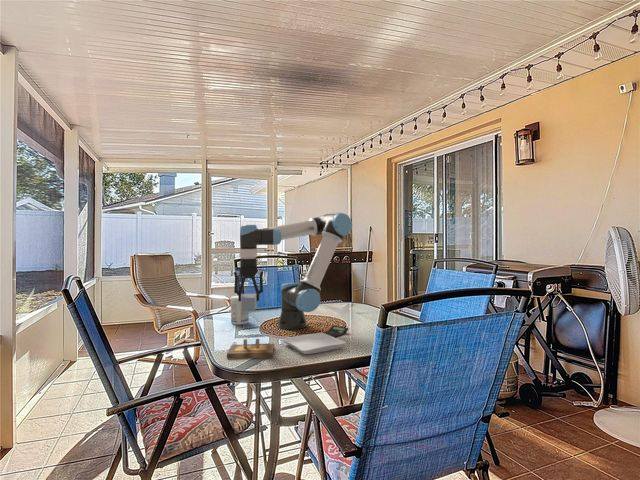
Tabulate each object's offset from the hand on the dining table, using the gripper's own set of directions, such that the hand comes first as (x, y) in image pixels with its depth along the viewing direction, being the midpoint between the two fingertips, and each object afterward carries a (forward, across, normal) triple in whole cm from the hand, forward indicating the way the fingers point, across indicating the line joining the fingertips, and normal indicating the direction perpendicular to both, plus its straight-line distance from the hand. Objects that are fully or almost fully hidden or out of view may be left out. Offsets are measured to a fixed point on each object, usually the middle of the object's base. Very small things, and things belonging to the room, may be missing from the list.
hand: (248, 308), depth 175 cm
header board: (+15, -2, +20) cm, 25 cm away
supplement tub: (+15, +8, -35) cm, 39 cm away
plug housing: (0, 0, 0) cm, 0 cm away
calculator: (+15, -40, -5) cm, 43 cm away
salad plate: (+15, -29, +14) cm, 36 cm away
